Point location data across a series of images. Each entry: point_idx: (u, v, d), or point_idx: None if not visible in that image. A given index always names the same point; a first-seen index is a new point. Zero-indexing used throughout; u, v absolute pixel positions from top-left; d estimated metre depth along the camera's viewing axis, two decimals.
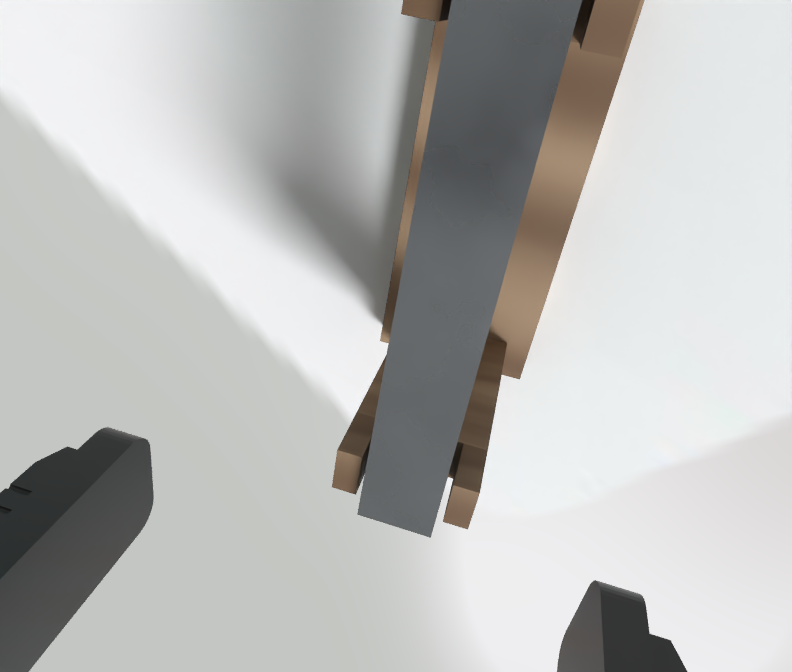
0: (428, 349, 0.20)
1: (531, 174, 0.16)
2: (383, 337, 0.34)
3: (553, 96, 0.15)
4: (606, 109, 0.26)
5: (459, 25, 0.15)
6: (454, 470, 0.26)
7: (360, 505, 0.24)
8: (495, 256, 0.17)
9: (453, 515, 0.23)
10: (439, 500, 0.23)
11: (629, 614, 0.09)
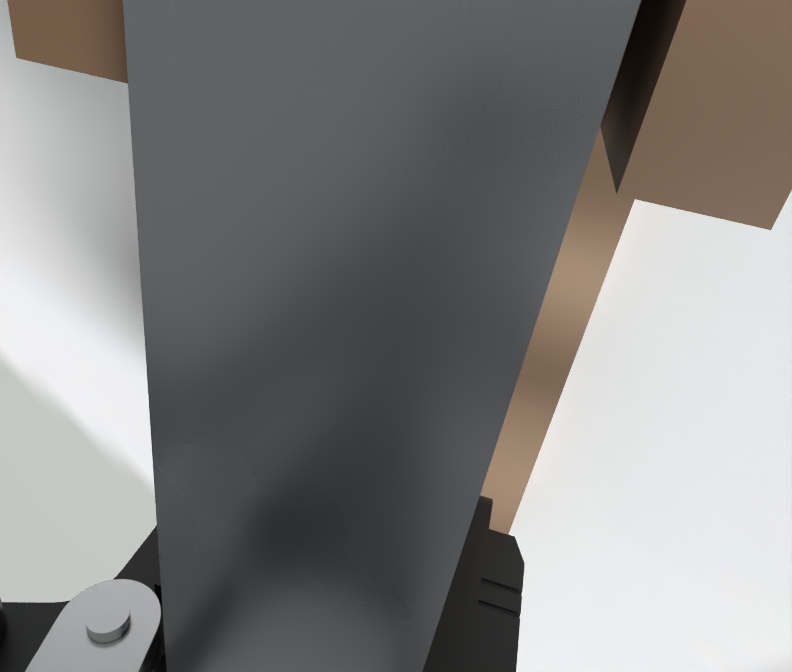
0: None
1: (460, 541, 0.05)
2: None
3: (521, 351, 0.04)
4: None
5: (171, 106, 0.04)
6: None
7: None
8: None
9: None
10: None
11: (475, 511, 0.10)
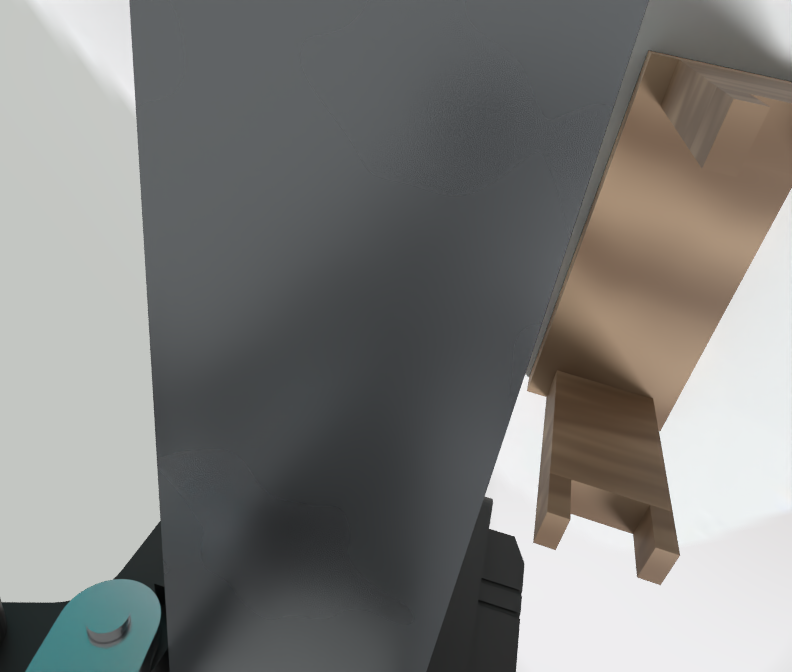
0: None
1: (463, 547, 0.05)
2: (531, 388, 0.37)
3: (524, 360, 0.04)
4: (782, 201, 0.28)
5: (177, 118, 0.04)
6: (635, 527, 0.28)
7: None
8: None
9: (648, 572, 0.26)
10: None
11: None
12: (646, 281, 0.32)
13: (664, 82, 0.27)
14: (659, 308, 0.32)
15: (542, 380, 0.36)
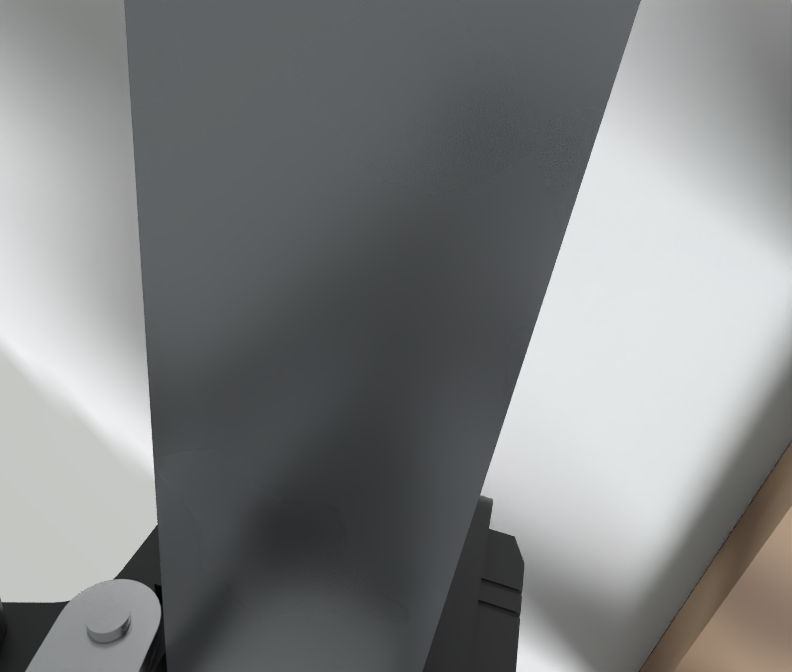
0: None
1: (458, 547, 0.05)
2: None
3: (517, 360, 0.04)
4: None
5: (172, 120, 0.04)
6: None
7: None
8: None
9: None
10: None
11: (475, 511, 0.10)
12: None
13: None
14: None
15: None
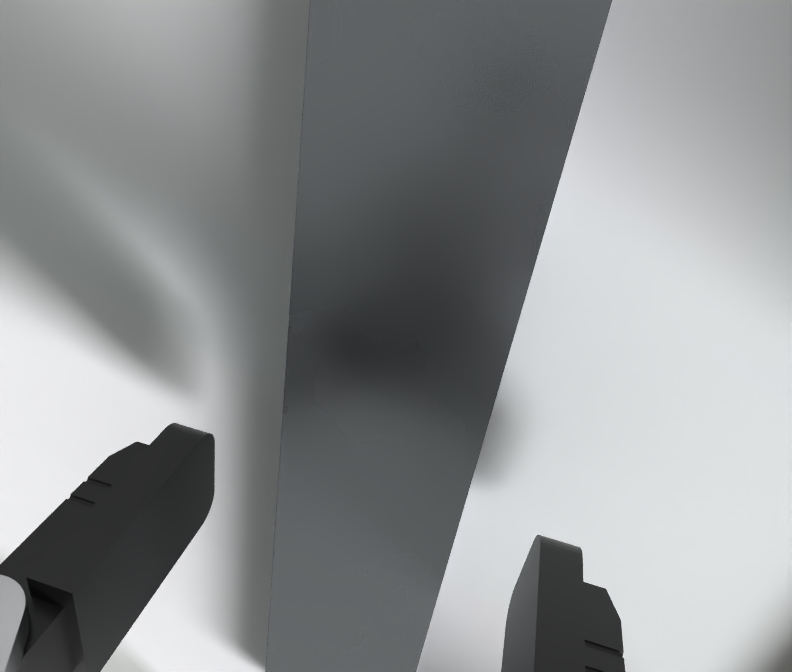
0: (335, 614, 0.11)
1: (501, 366, 0.08)
2: None
3: (543, 222, 0.07)
4: None
5: (332, 72, 0.07)
6: None
7: None
8: (441, 494, 0.09)
9: None
10: None
11: (566, 563, 0.10)
12: None
13: None
14: None
15: None
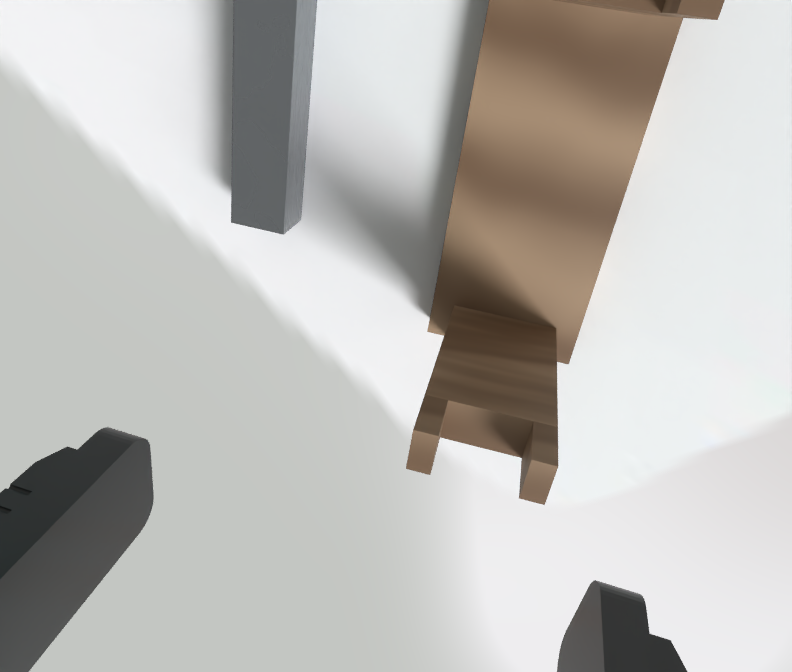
0: (259, 61, 0.28)
1: None
2: (430, 328, 0.34)
3: None
4: (657, 90, 0.26)
5: None
6: (523, 449, 0.26)
7: (232, 213, 0.32)
8: None
9: (530, 491, 0.24)
10: (284, 197, 0.31)
11: (629, 614, 0.09)
12: (532, 195, 0.30)
13: None
14: (549, 225, 0.30)
15: (441, 318, 0.34)
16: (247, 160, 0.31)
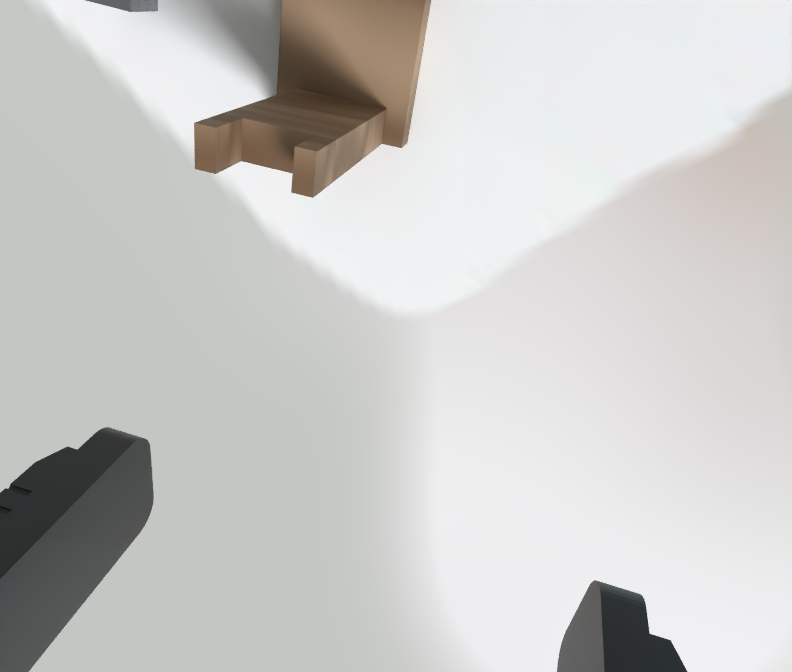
0: None
1: None
2: None
3: None
4: None
5: None
6: None
7: None
8: None
9: (299, 183, 0.26)
10: None
11: (629, 614, 0.09)
12: None
13: None
14: None
15: None
16: None
